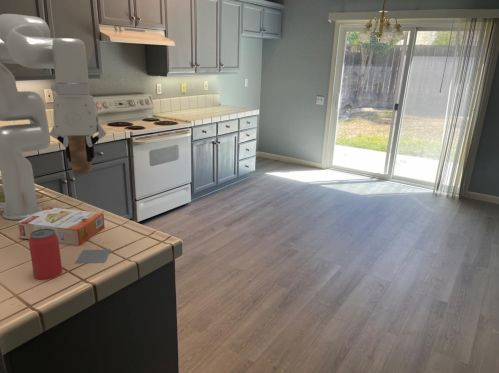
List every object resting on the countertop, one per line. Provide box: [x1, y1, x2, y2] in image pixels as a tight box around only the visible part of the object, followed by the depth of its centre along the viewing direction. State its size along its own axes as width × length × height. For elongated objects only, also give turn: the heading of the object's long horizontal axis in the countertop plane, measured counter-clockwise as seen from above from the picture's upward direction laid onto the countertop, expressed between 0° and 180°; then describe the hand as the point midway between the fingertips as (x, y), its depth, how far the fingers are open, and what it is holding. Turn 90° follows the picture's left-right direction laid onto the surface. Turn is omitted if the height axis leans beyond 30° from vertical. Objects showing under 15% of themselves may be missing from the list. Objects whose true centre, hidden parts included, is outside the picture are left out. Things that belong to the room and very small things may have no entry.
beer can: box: [28, 228, 63, 281], centre depth 98 cm, size 7×7×12 cm
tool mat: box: [74, 248, 112, 265], centre depth 108 cm, size 8×8×1 cm
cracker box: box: [17, 206, 106, 246], centre depth 122 cm, size 14×6×21 cm
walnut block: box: [68, 136, 93, 175], centre depth 101 cm, size 4×4×12 cm
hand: (81, 160), depth 102 cm, fingers closed on walnut block, 4 cm apart
